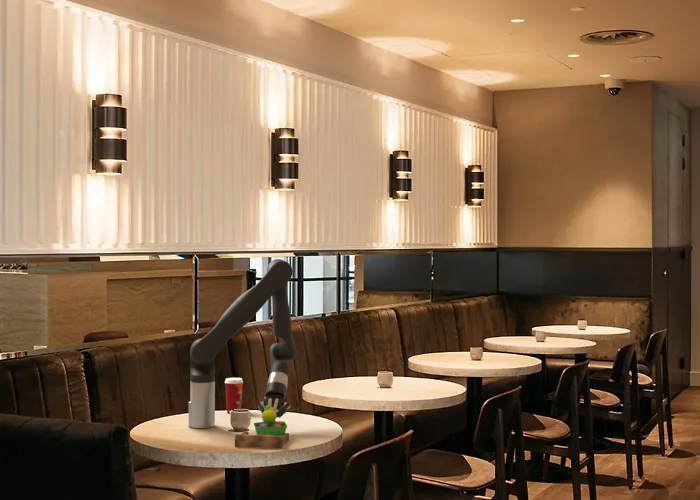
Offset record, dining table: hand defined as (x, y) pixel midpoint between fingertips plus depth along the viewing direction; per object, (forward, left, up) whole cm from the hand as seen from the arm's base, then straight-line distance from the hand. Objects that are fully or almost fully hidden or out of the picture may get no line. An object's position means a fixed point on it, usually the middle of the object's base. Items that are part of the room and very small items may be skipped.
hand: (270, 425), depth 352 cm
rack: (0, -12, -4) cm, 13 cm away
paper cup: (-24, +41, -4) cm, 47 cm away
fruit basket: (+1, -4, -4) cm, 5 cm away
